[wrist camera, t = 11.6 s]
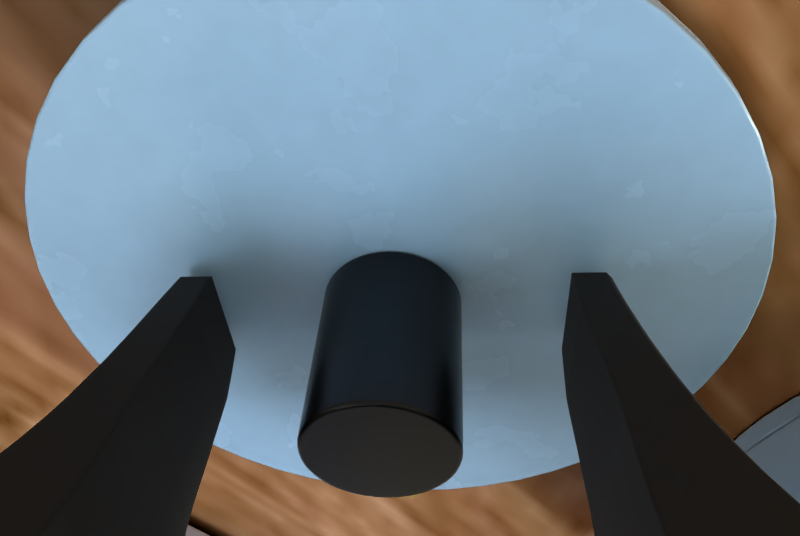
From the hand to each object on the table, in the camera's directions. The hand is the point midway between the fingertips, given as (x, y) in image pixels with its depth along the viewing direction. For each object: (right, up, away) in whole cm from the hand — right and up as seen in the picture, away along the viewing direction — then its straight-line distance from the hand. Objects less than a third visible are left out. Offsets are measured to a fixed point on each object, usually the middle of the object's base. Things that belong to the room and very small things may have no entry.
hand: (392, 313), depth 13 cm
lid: (0, +1, +1) cm, 1 cm away
